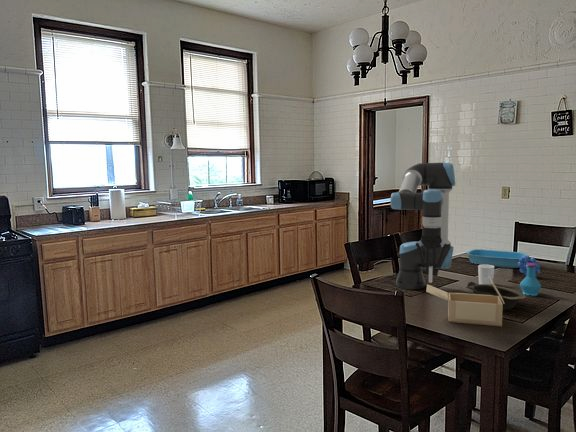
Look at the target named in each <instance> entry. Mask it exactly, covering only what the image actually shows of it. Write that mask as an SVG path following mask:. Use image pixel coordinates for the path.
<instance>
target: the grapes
mask: <svg viewBox="0 0 576 432" xmlns="http://www.w3.org/2000/svg"><path fill="white" fill-rule="evenodd" d="M519 261H520V262H518V264H517V265H518V268H519V272H520V273H522V274H524V275H525V277H526V276H527V265H526V264H528V263H534V264H536V265H537V266H536V268H535V277H536V278H537V274H540V273H541V269H540V267H541V264H540V263H539V262H536V261H537V259H536V258H535V257H530V255H529V256H524V258H522V257H521V258H519Z"/></svg>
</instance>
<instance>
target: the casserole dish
mask: <svg viewBox="0 0 576 432" xmlns="http://www.w3.org/2000/svg"><path fill="white" fill-rule="evenodd" d="M465 254H467V256H468V259H469V261H470V263H472V264H473V263H474V264H473V265H477V264H479V265H481V264H487V265H493V266H494V268H495V267H496V268H506V269H517V268H519V267H518V265H517V264H518V262H520V261H519V258H521V257H522V258H524V256H529V257H530V255H529V254H527V253H524V252H518V251H508V250H507V251H506V250H497V249H496V250H495V249H483V248H482V249H481V248H480V249H479V248H476V249H470V250H466V251H465Z"/></svg>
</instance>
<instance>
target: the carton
mask: <svg viewBox="0 0 576 432" xmlns="http://www.w3.org/2000/svg"><path fill="white" fill-rule="evenodd" d="M447 302H448V303H447V319H448V323H458V324H465V325H466V324H467V325H469V324H470V325H479V326H491V327H503V311H504V310H503V304H502V302H501V300H500V297H499V296H492V295H481V294H473V293H464V292H448V301H447Z"/></svg>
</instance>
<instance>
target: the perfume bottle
mask: <svg viewBox="0 0 576 432" xmlns="http://www.w3.org/2000/svg"><path fill="white" fill-rule="evenodd" d="M526 265H527V276H526V275H525V276H524V278H523V280H522V281H521V282H520V283H519V287H520V288H521V291H522V293H523V294H526V296H530V295H531V296H533V297H534V296H535V297H536V296H538V294H539V293H540V292H539V291H540V290H541V288H542V284H541V283H540V281H539V280H538V278H537V276H536V277H535V268H536V266H537V265H536V264H534V263H528V264H526Z"/></svg>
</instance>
